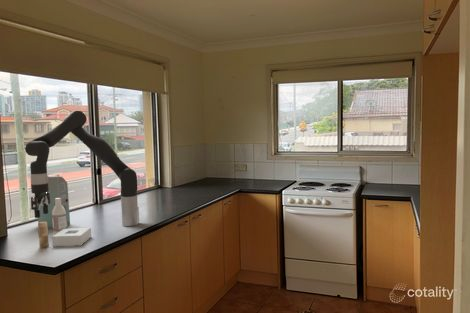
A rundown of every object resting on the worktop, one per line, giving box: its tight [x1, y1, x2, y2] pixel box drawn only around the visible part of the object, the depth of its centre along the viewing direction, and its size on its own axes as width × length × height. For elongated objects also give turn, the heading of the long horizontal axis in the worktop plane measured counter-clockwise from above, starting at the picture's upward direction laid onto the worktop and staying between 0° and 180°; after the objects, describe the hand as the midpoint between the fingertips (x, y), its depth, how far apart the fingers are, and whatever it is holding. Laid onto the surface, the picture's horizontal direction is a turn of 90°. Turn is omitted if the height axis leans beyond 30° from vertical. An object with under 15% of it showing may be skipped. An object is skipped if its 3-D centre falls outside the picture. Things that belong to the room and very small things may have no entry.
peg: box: [37, 222, 50, 249], centre depth 187 cm, size 4×4×12 cm
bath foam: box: [52, 198, 68, 236], centre depth 207 cm, size 7×7×20 cm
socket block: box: [51, 227, 92, 247], centre depth 194 cm, size 14×14×5 cm
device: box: [37, 174, 71, 229], centre depth 226 cm, size 16×8×30 cm, turn 73°
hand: (41, 215), depth 186 cm, fingers open, 8 cm apart
